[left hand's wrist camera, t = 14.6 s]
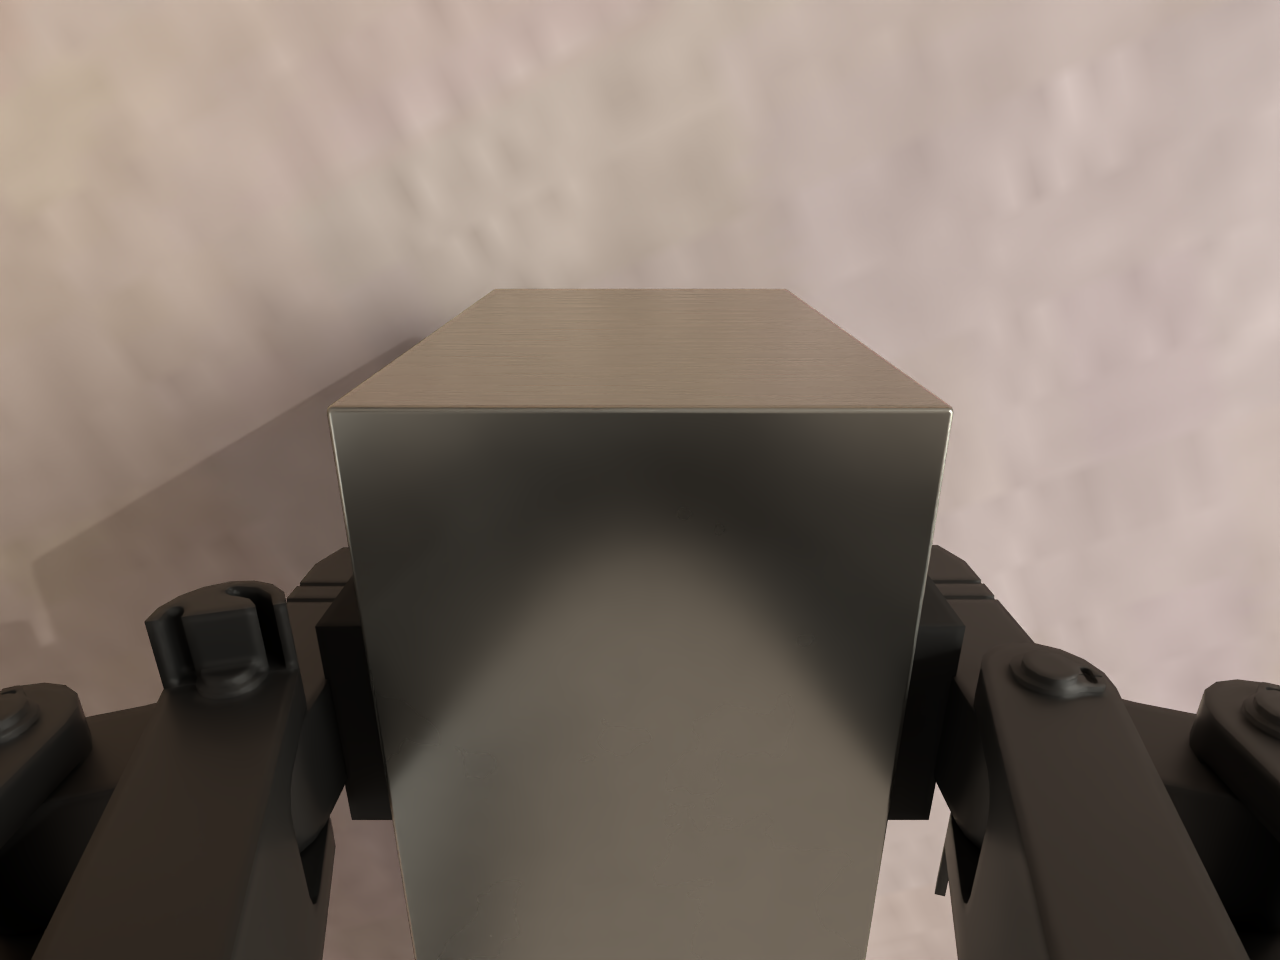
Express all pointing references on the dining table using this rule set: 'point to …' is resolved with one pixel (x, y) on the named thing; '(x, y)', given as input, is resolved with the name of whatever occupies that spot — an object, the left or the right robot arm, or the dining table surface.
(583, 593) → the bar
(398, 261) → the dining table surface
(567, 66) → the dining table surface
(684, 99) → the dining table surface
